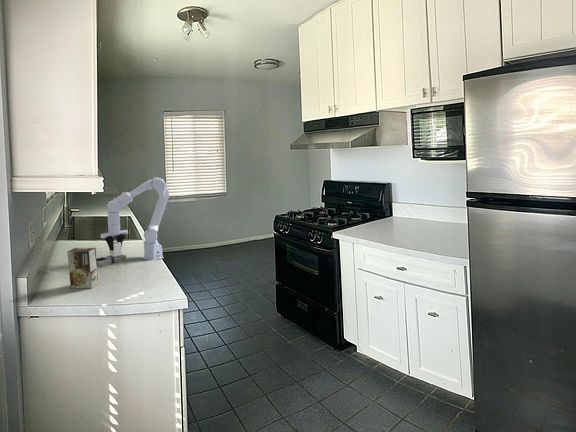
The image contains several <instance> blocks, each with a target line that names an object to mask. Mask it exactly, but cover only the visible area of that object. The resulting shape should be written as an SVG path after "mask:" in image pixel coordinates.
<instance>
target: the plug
mask: <svg viewBox="0 0 576 432" xmlns="http://www.w3.org/2000/svg"><path fill="white" fill-rule="evenodd" d="M109 255H110V256H113V257H116V256H121V255H123V253H122V247H121V242H117V240H116V241H114V242H113V251H111V250H110V249H109Z"/></svg>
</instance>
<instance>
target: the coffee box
mask: <svg viewBox="0 0 576 432" xmlns="http://www.w3.org/2000/svg"><path fill="white" fill-rule="evenodd" d="M96 249H97V248H96V247H74V248H72V249H70V250H68V251H67V252H66V253H67V261H68V262H67V263H68V271H69V274H68V275H69V284H70V286H69V287H70V289H93V288H94V287H96V286H98V284H99V277H98V267H97V261H96V258H97V251H96Z"/></svg>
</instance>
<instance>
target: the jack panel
mask: <svg viewBox="0 0 576 432" xmlns="http://www.w3.org/2000/svg"><path fill="white" fill-rule="evenodd" d="M96 261H97V268H103V267H106V266H109V265H113V264H118V263H122V262H124V261H125V262H126V261H127V255H125V254H122V255H121V256H116V257H113V256H110V254H109V255H106V256H105V257H104V256H101V257H96Z"/></svg>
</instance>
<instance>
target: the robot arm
mask: <svg viewBox="0 0 576 432" xmlns="http://www.w3.org/2000/svg"><path fill="white" fill-rule="evenodd" d="M153 189H154V190H155V191H156V193H157V194H158V196H159V197H158V199H157V203H156V205H155V209H154V211H153V213H152V216H151V219H150V222H149V225H148V226H147V229H146V230H145V231H143V232H144V233H143V237H144V241H143V253H144V254H143V256H142V257H140V258H141V259H143V260H144V259H145V260H149V261H157V260H160V259H161V260H162V259H164V256H163V246H162V244H160V243H159V241H158V232H159V226H160V224H161V221H162V218H163V215H164V212H165V209H166V206H167V204H168V201H169V198H170V193H169V190H168V186H167V183H166V182H165V180H164V179H162V178H160V177H157V176H155V177H153V178H152V179H149V180H147V181H145V182H143V183H142V184H141V185H139V186H138V187H136V188H134V189H133V190H131V191H130V192H128V191H125V192H121V194H120V195H118V196H117V197H113V198H112V200H109V202H107V203H106V209H107V226H108V227H107V228H108V229H107V231H108V232H104V233H100V239H104V241H105V242H106V244H107V246H108V248H109V251H110V250H111V251H113V242H115V238H116V241H117V242H121V248H122V246H123V242H124V239H125V238H126V235H128V234H129V230H128V229H123V230H121V219H120V218H121V217H120V216H121V215H120V211H119V210H120V208H124V207H125V206H127V205H128V204H130V203H132V202H133V200H134V198H135V197H136V196H138V195H140V194H141V193H143V192H145V191H147V190H153ZM114 237H115V238H114ZM160 257H161V258H160Z"/></svg>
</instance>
